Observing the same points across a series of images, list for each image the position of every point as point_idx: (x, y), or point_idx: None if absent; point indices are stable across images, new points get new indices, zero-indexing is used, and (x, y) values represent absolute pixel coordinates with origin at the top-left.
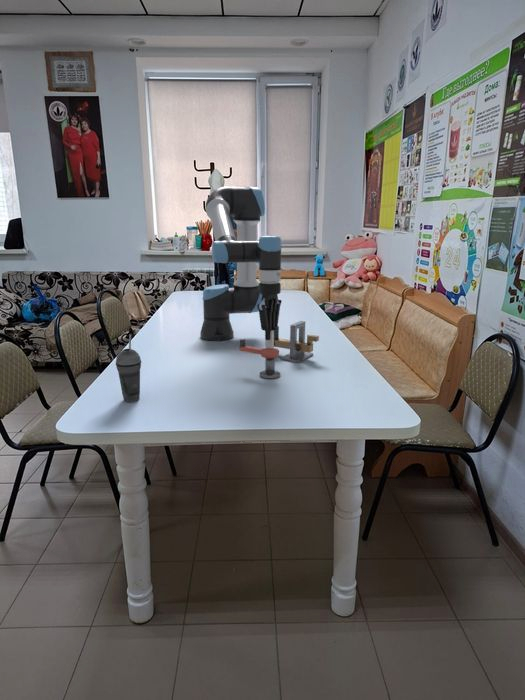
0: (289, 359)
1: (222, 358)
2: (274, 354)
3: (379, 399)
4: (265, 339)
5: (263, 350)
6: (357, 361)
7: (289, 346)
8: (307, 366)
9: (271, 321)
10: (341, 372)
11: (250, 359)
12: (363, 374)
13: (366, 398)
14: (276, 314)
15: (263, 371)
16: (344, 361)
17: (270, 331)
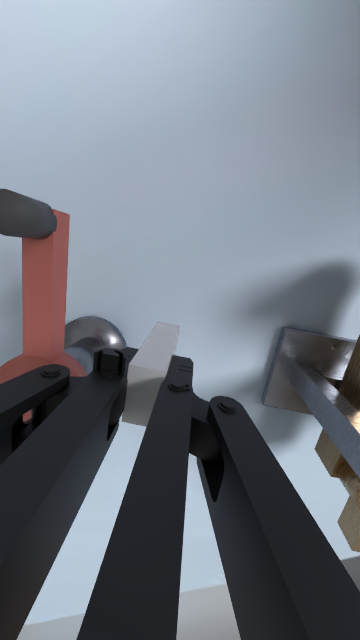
0: (274, 366)
1: (216, 47)
2: None
3: (69, 588)
4: (125, 348)
5: (18, 369)
6: (333, 548)
7: (356, 368)
8: None
9: (83, 498)
10: (210, 519)
11: (246, 202)
12: (214, 563)
13: (61, 570)
14: (242, 612)
15: (97, 325)
16: (323, 518)
17: (124, 408)
